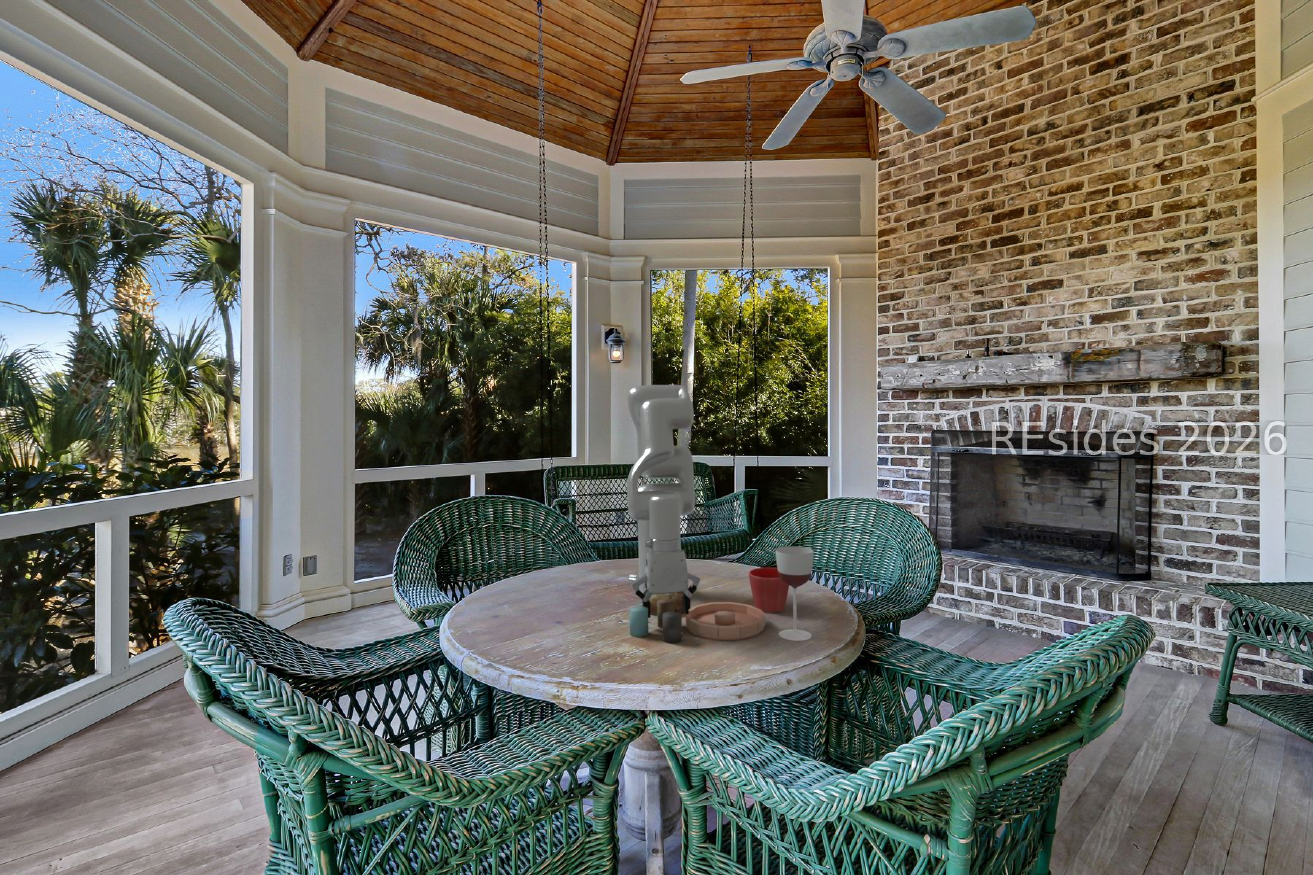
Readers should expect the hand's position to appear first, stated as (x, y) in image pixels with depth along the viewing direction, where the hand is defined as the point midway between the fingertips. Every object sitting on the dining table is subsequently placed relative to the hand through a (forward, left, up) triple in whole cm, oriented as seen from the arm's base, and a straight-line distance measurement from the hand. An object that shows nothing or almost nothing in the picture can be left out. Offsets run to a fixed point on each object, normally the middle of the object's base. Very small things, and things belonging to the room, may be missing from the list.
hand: (666, 614), depth 159 cm
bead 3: (+6, -7, -3) cm, 10 cm away
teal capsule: (-3, -7, -3) cm, 9 cm away
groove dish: (+13, +7, -3) cm, 15 cm away
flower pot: (+18, +25, -3) cm, 30 cm away
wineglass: (+30, +9, -3) cm, 31 cm away
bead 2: (0, +1, -3) cm, 3 cm away
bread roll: (-7, +11, -3) cm, 13 cm away
